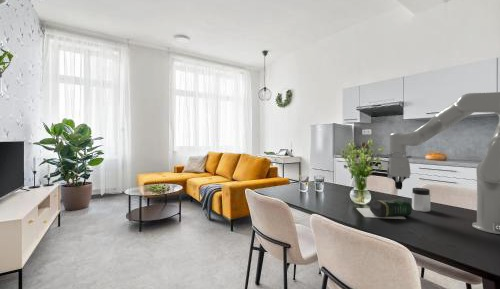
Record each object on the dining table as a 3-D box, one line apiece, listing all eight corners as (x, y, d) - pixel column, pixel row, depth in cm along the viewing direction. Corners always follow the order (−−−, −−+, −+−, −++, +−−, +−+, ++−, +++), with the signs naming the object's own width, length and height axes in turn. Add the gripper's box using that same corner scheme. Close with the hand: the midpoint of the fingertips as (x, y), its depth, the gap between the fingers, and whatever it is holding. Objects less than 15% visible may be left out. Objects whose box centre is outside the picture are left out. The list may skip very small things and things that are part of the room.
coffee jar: (413, 202, 123) (380, 204, 120) (412, 217, 123) (380, 219, 120) (398, 197, 132) (368, 199, 129) (397, 210, 133) (368, 213, 130)
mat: (405, 218, 122) (405, 217, 122) (365, 217, 125) (365, 216, 125) (391, 209, 138) (391, 208, 138) (356, 208, 141) (356, 207, 141)
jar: (432, 209, 136) (432, 189, 136) (428, 212, 131) (428, 191, 131) (414, 206, 143) (414, 187, 143) (409, 209, 138) (409, 188, 138)
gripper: (386, 156, 126) (386, 190, 127) (416, 155, 124) (417, 190, 124) (380, 155, 134) (381, 187, 134) (409, 154, 132) (410, 187, 132)
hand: (398, 188), depth 129 cm, fingers closed
